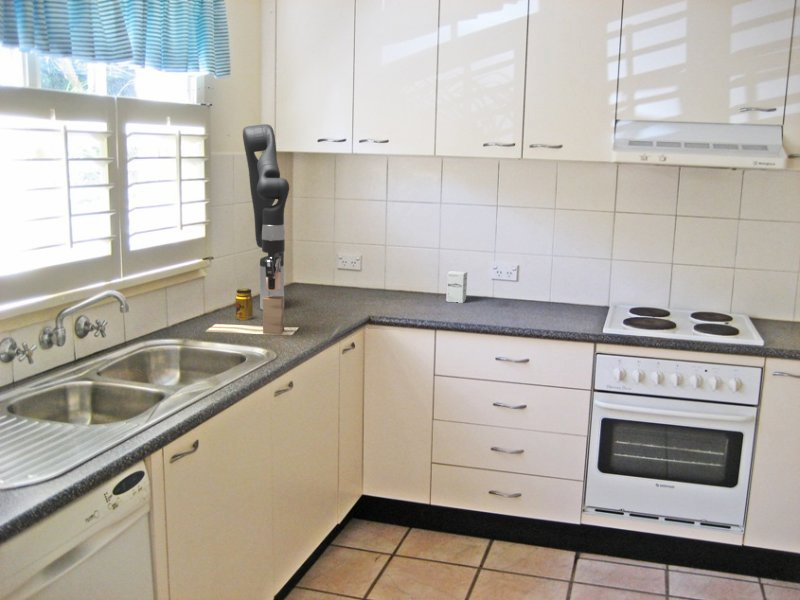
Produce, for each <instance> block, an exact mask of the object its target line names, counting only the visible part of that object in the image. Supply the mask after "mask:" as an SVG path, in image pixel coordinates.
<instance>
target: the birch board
mask: <svg viewBox="0 0 800 600" xmlns="http://www.w3.org/2000/svg"><path fill="white" fill-rule="evenodd" d="M298 329H299V327H295V326H293V327H291V326H284V331H283V332H282V333H281V334H272V335H276V336H293V335H294V333H295V332H297V330H298ZM205 332H206V333H230V334H232V333H233V334H253V335H264V334H263V325H249V324H248V325H246V324H225V323H224V324H223V323H222V324H221V323H214V325H212V326H210V327H209V328H207V329H206V330H205Z"/></svg>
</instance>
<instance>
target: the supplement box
mask: <svg viewBox="0 0 800 600" xmlns="http://www.w3.org/2000/svg"><path fill="white" fill-rule="evenodd" d="M446 275H447V277H446V299H445V302H446V301H447V302H446V303H456V302H458V303H457V304H463V303H464V302H466V301H465V300H467V287H468V285H467V284H468V271H459V270H449V271H448V272H447V274H446Z"/></svg>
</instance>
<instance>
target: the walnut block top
mask: <svg viewBox="0 0 800 600" xmlns="http://www.w3.org/2000/svg"><path fill="white" fill-rule="evenodd" d="M283 314H284V315H285V295H284V296H266V297H265V298H263V310H262V317H263V316H268V317H281V316H282V315H283Z"/></svg>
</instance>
